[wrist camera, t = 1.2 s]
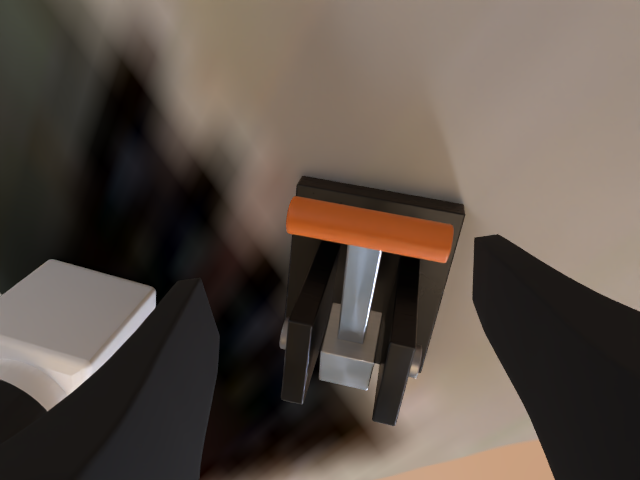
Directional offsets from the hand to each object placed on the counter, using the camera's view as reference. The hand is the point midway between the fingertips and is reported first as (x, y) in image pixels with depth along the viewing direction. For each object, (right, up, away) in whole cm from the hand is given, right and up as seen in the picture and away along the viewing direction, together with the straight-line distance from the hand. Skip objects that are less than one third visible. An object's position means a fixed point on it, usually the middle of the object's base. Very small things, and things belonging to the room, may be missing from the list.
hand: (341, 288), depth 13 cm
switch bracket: (+2, -1, +14) cm, 14 cm away
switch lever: (+1, 0, +6) cm, 7 cm away
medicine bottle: (-14, -4, +19) cm, 24 cm away
